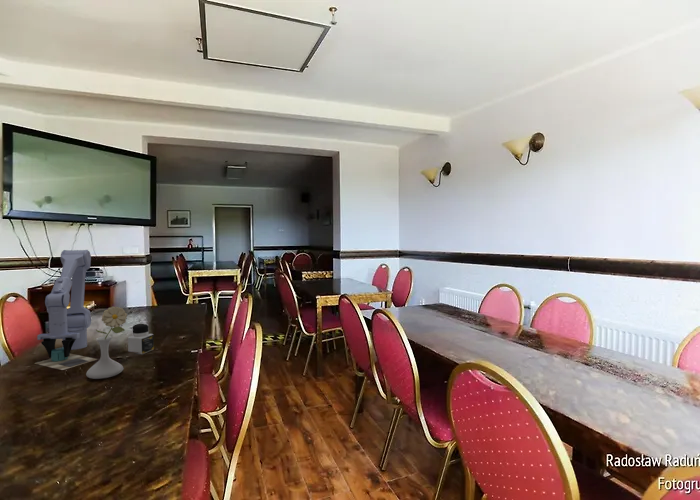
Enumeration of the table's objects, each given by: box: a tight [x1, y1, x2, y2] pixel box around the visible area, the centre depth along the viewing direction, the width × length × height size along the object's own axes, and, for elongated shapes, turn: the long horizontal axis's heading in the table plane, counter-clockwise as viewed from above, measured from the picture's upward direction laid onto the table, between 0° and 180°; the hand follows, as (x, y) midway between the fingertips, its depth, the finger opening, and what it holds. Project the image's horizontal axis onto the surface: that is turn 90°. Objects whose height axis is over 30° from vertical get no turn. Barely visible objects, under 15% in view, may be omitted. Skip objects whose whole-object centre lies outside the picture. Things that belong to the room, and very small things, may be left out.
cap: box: [50, 346, 68, 361], centre depth 151 cm, size 5×5×4 cm
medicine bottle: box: [127, 323, 155, 355], centre depth 164 cm, size 7×7×12 cm
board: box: [34, 353, 99, 371], centre depth 149 cm, size 18×13×4 cm
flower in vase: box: [85, 306, 128, 380], centre depth 137 cm, size 13×11×25 cm
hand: (59, 356), depth 151 cm, fingers closed on cap, 5 cm apart
